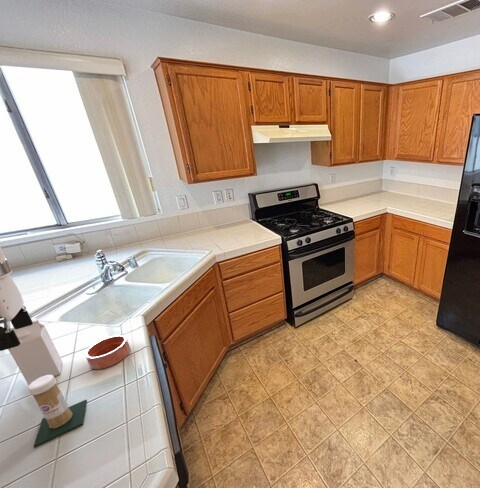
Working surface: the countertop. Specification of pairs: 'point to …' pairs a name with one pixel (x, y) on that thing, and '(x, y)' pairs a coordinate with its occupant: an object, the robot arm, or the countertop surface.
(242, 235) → the countertop surface
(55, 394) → the sprinkles bottle
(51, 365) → the milk carton
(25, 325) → the robot arm
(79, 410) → the mat
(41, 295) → the countertop surface
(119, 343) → the bowl
